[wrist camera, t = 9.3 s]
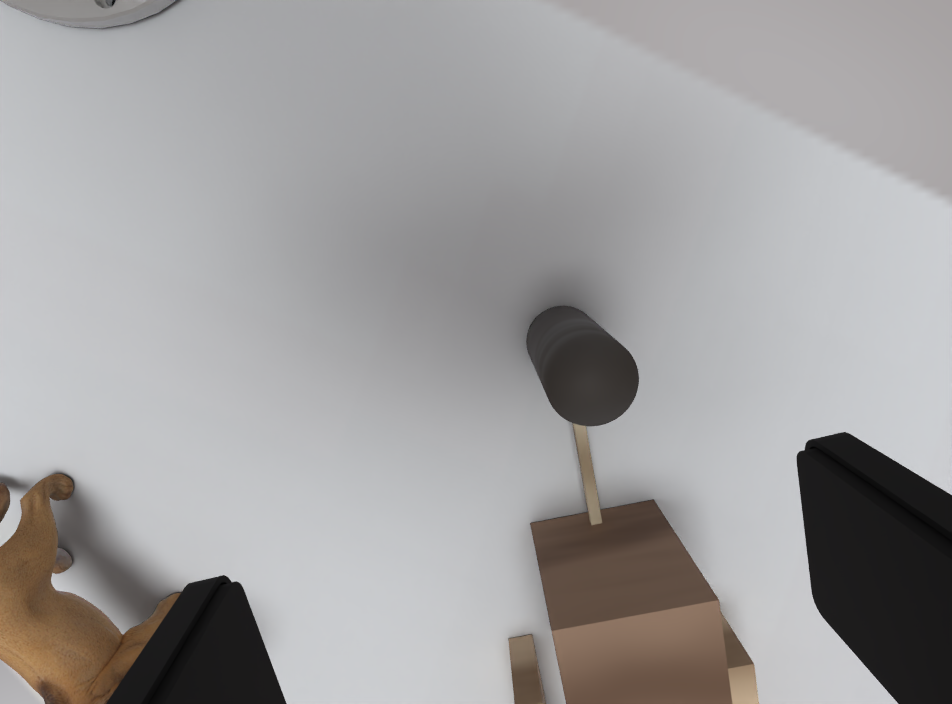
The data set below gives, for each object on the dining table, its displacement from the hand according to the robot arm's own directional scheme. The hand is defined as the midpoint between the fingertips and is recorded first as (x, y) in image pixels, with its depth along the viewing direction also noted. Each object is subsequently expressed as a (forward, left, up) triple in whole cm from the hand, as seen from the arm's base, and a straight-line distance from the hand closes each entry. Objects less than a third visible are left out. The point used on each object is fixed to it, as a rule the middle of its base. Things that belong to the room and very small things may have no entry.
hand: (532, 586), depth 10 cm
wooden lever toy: (+7, +3, -19) cm, 20 cm away
